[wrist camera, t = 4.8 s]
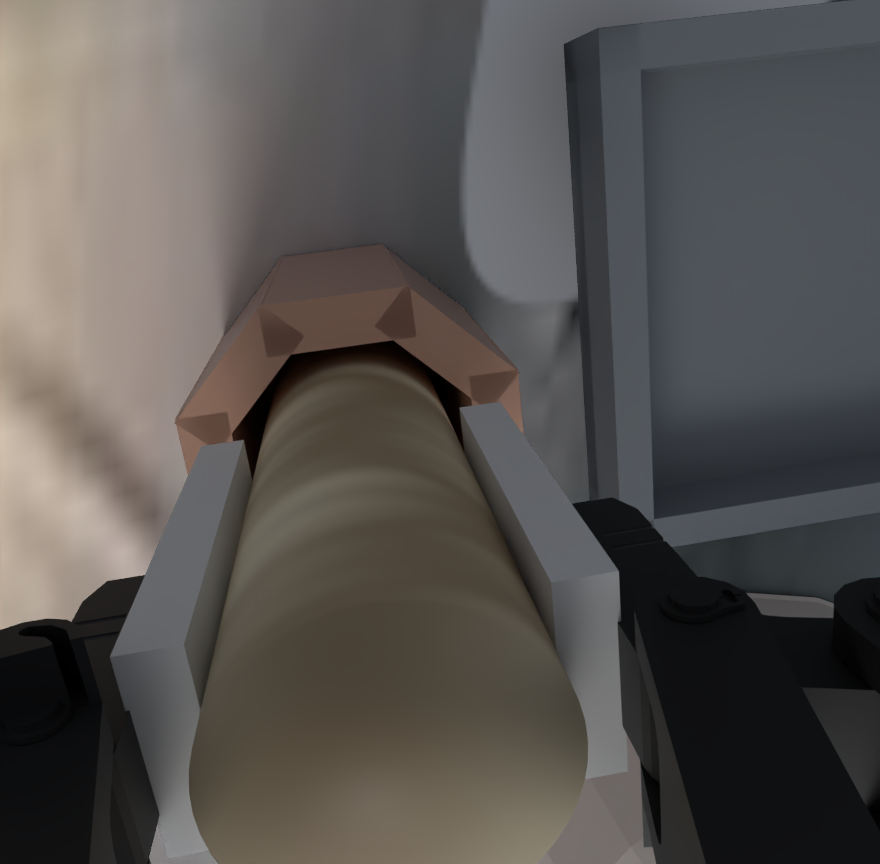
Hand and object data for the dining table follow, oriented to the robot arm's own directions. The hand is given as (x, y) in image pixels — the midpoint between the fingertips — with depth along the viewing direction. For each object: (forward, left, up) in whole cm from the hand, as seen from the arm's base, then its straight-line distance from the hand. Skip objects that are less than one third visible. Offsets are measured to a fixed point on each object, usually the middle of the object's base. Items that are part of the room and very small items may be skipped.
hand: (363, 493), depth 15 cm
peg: (0, 0, -9) cm, 9 cm away
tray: (+18, +1, -10) cm, 20 cm away
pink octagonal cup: (0, 0, -10) cm, 10 cm away
